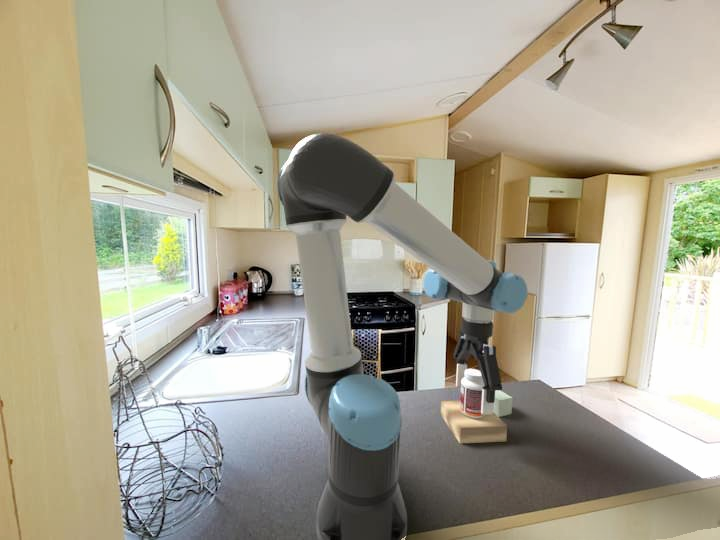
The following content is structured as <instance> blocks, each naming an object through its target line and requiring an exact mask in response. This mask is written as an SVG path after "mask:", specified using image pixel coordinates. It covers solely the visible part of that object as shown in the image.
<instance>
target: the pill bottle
mask: <svg viewBox="0 0 720 540" xmlns="http://www.w3.org/2000/svg"><path fill="white" fill-rule="evenodd" d="M464 375H465V377H464V378H463V379H462V380H461V387H460V397H459V401H460V411H461V412H462V413H463V414H464V415H466V416H468V417H470V418H475V419H479V418H482V417H483V416H484V415H482V414H481V402H482V387H484V386H485V385H484V382H483V378H482V375H481V372H480V369H476V368H467V369H466V370H465V373H464Z"/></svg>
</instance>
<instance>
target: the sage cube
mask: <svg viewBox="0 0 720 540" xmlns="http://www.w3.org/2000/svg"><path fill="white" fill-rule="evenodd" d="M512 409H513V397H512V396H511V395H509V394H507V393H505V392H504V391H502V390H495V401H494V410H493V412H494V413H495V414H496V415H497V416H498V417H499V418H500V417H504V416H509V415H512V413H513V412H512V411H513V410H512Z"/></svg>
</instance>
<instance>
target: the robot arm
mask: <svg viewBox="0 0 720 540" xmlns="http://www.w3.org/2000/svg"><path fill="white" fill-rule="evenodd" d="M276 183H277V184H276V185H277V186H276V189H277V195H278V197H279V201H280V202H281V204H282V206H283V211H284V212H283V213H284V218H285V226H286V228H287V229H288V230H290V231H291V232H292V233H293V234H294V235H295V238H296V239H295V240H296V246H297V247H296V248H297V254H298V261H299V263H298V264H299V268H300V277H301V283H302V284H301V285H302V292H303V298H304V306H305V314H306V322H307V328H308V330H307V331H308V338H309V343H310V351H311V352H310V353H309V354H308V356H307V357H306V358H305V360H304V363H305V372H306V373H305V377H304V391H305V395H306V398H307V400H308V402H309V404H310V405H311V408H312V409H313V412H314V414H315V416H316V418H317V420H318V422H319V424H320V426H321V428H322V430H323V433H324V435H325V437H326V440H327V444H328V470H327V471H328V473H327V474H328V476H327V481H326V483H325V486H324V489H323V492H322V495H321V497H320V500H319V503H318V506H317V510H316V536H317V540H401V539H402V538H404V537H405V536H406V535H407V533H408V513H407V508H406V505H405V501H404V498H403V495H402V491H401V487H400V484H399V467H400V466H399V465H400V445H401V444H400V442H401V441H400V440H401V429H402V425H403V423H402V422H403V421H402V412H401V411H402V409H401V408H402V407H401V400H400V397H399V395H398V392H397V391H396V390H395V388H394V387H393V386H392V385H391V384H389V383H388V382H387V381H386V380H384V379H382V378H381V377H378V378H375V376H373V375H369V374H364V368H363V359H362V357H363V356H362V352H361V350H360V349H359V348H357V347H356V346H354V343H353V335H352V328H351V327H352V325H351V319H350V309H349V308H350V307H349V300H348V292H347V283H346V274H345V266H344V265H345V262H344V256H343V254H344V253H343V247H342V239H341V230H342V228H343V227H344V225H345V224H346V223H347V217H348V218H350V219H351V220H353V222H355V223H357V224H360V223H368V224H369V225H370V226H371V227H373V228H374V229H375V230H377V231H378V232H380V233H381V234H383V235H384V236H385V237H387V239H389V240H390V241H392V242H393V243H395V244H396V245H397V246H399V247H401V248H402V249H403V250H404V251H406V252H407V253H408V254H410V255H411V256H412V257H414V258H415V259H417V260H418V261H419V262H421V263H422V264H423V265H425V266H426V267H427V268H429V269H428V270H427V271H426V272H425V274H424V277H423V284H422V285H423V286H422V287H423V291H424V293H425V294H426V296H427V297H428V298H429V299H431V300H439V301H443V300H451V301H456V302H459V303H462V309H461V310H462V312H461V313H462V314H461V317H462V319H461V330H460V331H459V338H458V339H457V343H456V346H455V348H454V350H453V351H454V352H453V355H452V357H453V359H455V362H456V374H455V376H456V378H455V386H456V387H457V388H461V380H462V379H463V378H464V377H465V375H464V373H465V370H466V369H468V364H467V363H468V360H469V359H470V357H471V355H472V356H473V357H474V360H475V361H476V362H477V363H478V368H479V371H480V372H481V375H482V378H483V382H484V385H485V386H484V387H482V402H481V414H482V415H485V414H493V410H494V401H495V390H500V391H502V390H503V385H502V380H501V375H500V369H499V364H498V360H497V359H498V358H497V347H496V346H495V345H489V341H488V339H489V338H491V337H493V334H494V323H493V320H494V318H495V317H494V314H495V312H497V313H499V312H501V313H506V314H514V313H517V312H519V311H520V310H521V309H522V308H523V307H524V305H525V302H526V301H527V299H528V292H529V291H528V285H527V282H526V280H524V277H522V276H520V275H519V274H514V273H511V272H502V271H500V270H498V269H497V263H496V262H495V260H494V261H493V260H486V258H484V257H483V256H482V255H480V254H479V253H478V252H477V251H476V250H475V249H474V248H472V247H471V246H470V245H469V244H467V243H466V242H465V241H464V240H463V239H462V238H461V237H459V236H458V235H457V234H456V233H455V232H454V231H452V230H451V229H450V228H449V227H447V226H446V225H445V224H444V223H443V222H442V221H440V219H438V218H437V217H436V216H435V215H433V213H431V212H430V211H429V210H428V209H426V207H424V206H423V205H421V204H420V203H419V202H418V200H416V199H414V197H413V196H411V195H410V194H409V193H407V192H406V191H405V190H404V189H403V188H402V187H401V186H399V185H398V184H397V183H396V174H395V172H394V171H392V169H390V168H389V167H388V166H387V165H386V164H385V163H384V162H382V161H381V160H379V159H378V158H377V157H376V156H374V155H373V154H372V153H370V152H369V151H368V150H366V149H365V148H363V147H362V146H360V145H359V144H357V143H355V142H354V141H352V140H350V139H348V138H346V137H343V136H341V135H337V134H333V133H329V132H327V133H326V132H320V133H319V132H318V133H314V134H310V135H308V136H306V137H305V138H303V139H302V140H300V141H299V142H298V143H297V144H296V145H295V147H294V148H293V149H292V151H291V153H290V155H289V157H288V159H287V160H286V162H285V163H284V164H283V166H282V167H281V169H280V171H279V174H278V177H277V182H276ZM406 537H407V536H406Z"/></svg>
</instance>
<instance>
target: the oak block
mask: <svg viewBox="0 0 720 540" xmlns="http://www.w3.org/2000/svg"><path fill="white" fill-rule="evenodd" d="M440 402H441V403H440V416H441V417H442V419H443V421H444V422H445V424H446V425H447V427H448V428H449V430H450V431H451V433H452V434H453V436H454V437H455V439H456V440H457V441H458V443H459V444H477V443H496V442H497V443H500V442H507V435H508V425H507V424H506V423H505V422H504V421H503V420H502V419H501V418H500V417H498V416H497V415H496V414H495V413H494V412H493V414H485V415H484V416H483V417H482V418H479V419H475V418H470V417H468V416H466V415H464V414H463V413H462V412H461V411H460V400H441V401H440Z"/></svg>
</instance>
